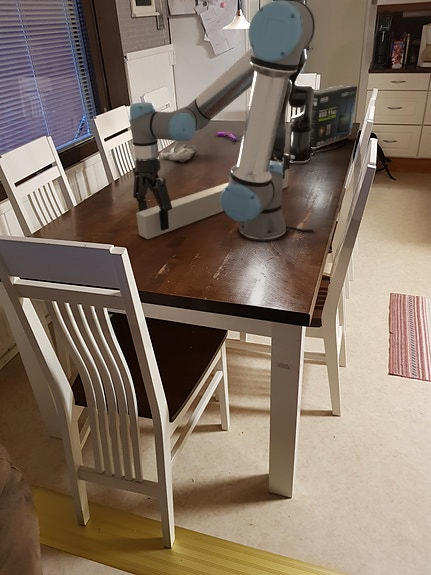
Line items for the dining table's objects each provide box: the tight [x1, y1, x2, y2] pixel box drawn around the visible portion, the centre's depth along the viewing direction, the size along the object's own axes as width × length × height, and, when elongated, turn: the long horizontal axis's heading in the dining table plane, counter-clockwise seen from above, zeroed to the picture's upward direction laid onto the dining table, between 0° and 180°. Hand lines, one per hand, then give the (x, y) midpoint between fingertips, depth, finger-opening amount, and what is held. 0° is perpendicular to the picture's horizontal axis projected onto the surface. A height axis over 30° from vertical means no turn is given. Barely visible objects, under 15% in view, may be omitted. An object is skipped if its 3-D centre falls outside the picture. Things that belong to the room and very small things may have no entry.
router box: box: [299, 84, 358, 147], centre depth 238 cm, size 36×11×27 cm, turn 134°
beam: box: [135, 169, 289, 240], centre depth 167 cm, size 69×5×8 cm, turn 132°
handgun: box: [216, 130, 237, 143], centre depth 261 cm, size 21×8×2 cm, turn 11°
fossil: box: [160, 142, 199, 163], centre depth 229 cm, size 18×11×15 cm
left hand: (154, 224), depth 151 cm, fingers open, 11 cm apart
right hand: (274, 177), depth 183 cm, fingers open, 6 cm apart
